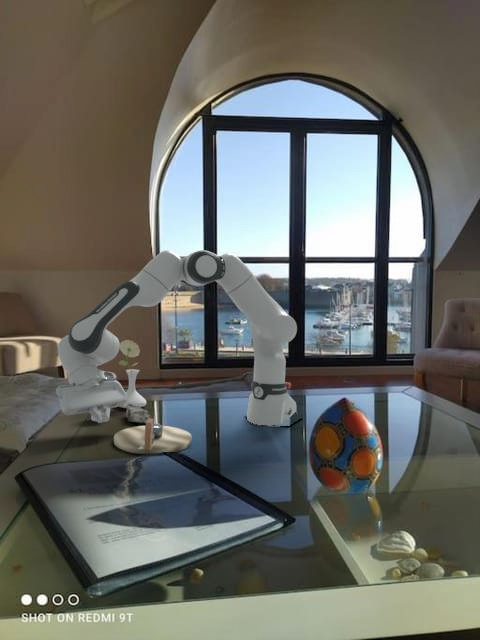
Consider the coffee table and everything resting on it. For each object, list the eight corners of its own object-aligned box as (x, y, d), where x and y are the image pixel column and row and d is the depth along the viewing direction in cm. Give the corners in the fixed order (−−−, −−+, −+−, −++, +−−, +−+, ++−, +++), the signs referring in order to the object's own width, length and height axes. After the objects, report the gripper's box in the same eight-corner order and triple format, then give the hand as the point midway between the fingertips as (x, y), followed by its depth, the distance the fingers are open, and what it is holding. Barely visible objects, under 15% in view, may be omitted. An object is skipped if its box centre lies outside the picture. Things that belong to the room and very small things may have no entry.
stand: (157, 426, 146) (157, 421, 146) (207, 442, 132) (207, 437, 132) (97, 440, 128) (98, 434, 128) (148, 460, 115) (148, 454, 115)
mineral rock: (154, 426, 146) (154, 412, 145) (128, 427, 143) (129, 413, 143) (147, 415, 160) (148, 402, 159) (124, 415, 157) (125, 403, 157)
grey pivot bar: (149, 426, 138) (150, 403, 138) (165, 426, 139) (166, 404, 138) (137, 448, 117) (138, 422, 117) (156, 449, 118) (158, 423, 117)
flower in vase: (152, 407, 170) (156, 341, 169) (130, 412, 161) (133, 342, 159) (128, 401, 177) (131, 338, 176) (105, 406, 167) (108, 339, 166)
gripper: (58, 379, 126) (76, 421, 120) (119, 372, 142) (137, 409, 136) (49, 392, 129) (66, 434, 123) (110, 384, 145) (127, 421, 139)
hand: (104, 421), depth 130 cm, fingers closed
